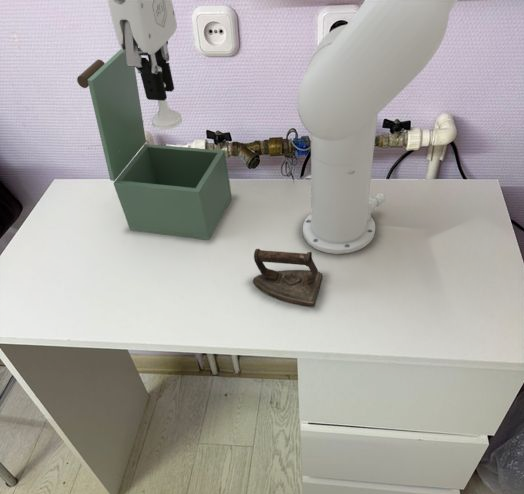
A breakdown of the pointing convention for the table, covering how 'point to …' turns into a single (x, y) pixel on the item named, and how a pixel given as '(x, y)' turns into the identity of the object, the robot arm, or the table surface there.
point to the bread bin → (175, 190)
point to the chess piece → (165, 115)
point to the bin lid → (116, 110)
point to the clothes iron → (288, 277)
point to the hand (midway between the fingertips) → (160, 93)
